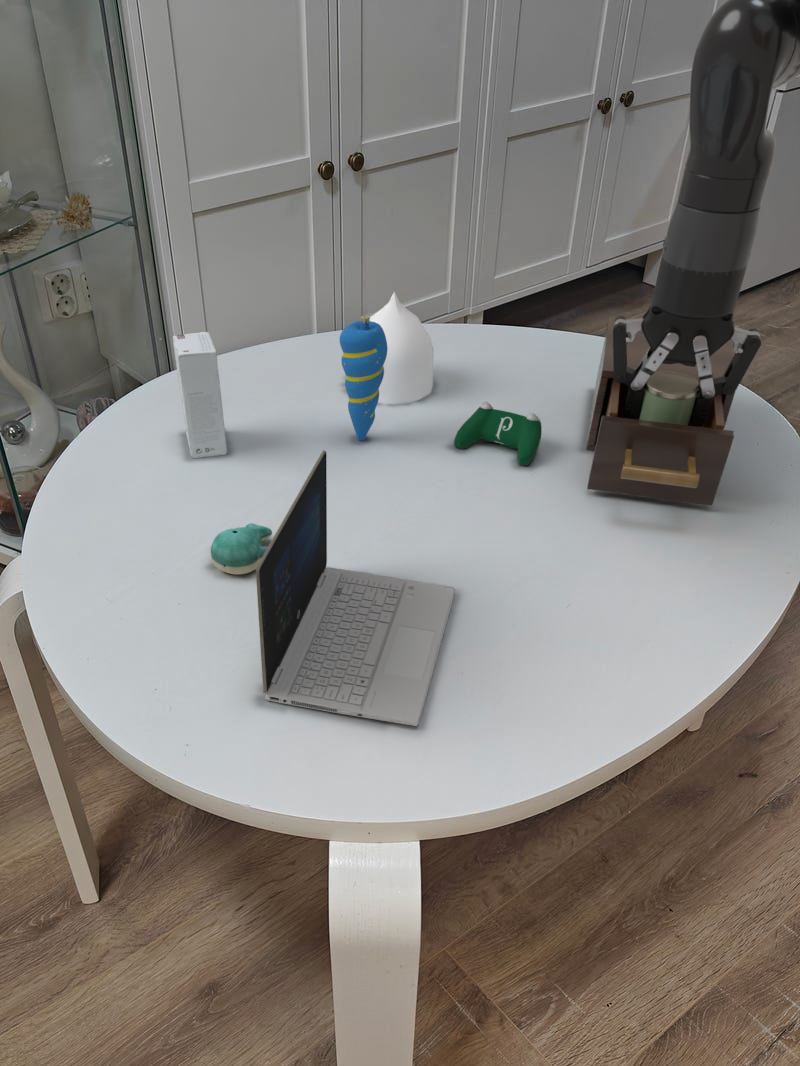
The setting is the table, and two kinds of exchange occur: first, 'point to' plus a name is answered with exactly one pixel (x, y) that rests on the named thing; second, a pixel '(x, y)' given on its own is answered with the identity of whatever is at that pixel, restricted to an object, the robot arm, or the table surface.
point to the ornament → (363, 370)
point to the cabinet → (634, 357)
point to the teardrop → (404, 355)
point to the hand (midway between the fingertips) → (662, 423)
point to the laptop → (343, 623)
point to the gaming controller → (502, 431)
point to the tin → (669, 398)
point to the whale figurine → (239, 548)
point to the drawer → (659, 454)
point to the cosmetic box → (200, 394)
